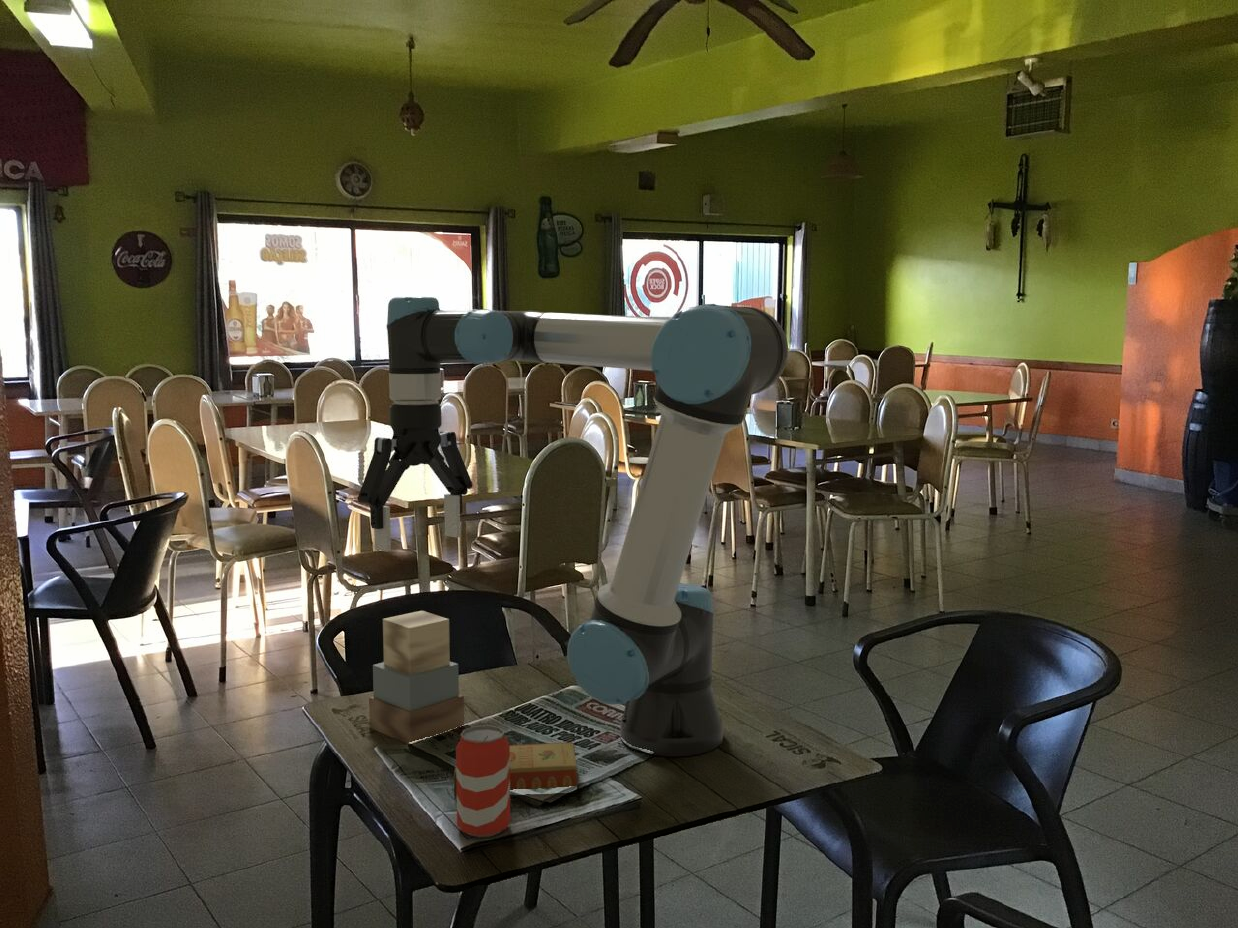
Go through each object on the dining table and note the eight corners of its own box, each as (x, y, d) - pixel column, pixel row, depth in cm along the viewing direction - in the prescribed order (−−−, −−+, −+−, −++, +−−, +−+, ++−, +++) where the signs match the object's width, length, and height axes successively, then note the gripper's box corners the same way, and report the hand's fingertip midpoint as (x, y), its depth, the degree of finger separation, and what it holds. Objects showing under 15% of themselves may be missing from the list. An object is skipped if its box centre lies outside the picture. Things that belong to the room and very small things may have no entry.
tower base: (464, 727, 165) (463, 695, 165) (411, 746, 158) (410, 712, 157) (422, 711, 172) (422, 681, 171) (369, 729, 165) (368, 697, 164)
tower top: (458, 696, 165) (458, 663, 164) (410, 711, 158) (409, 678, 157) (421, 682, 171) (421, 651, 170) (373, 697, 164) (372, 664, 163)
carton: (577, 796, 142) (577, 764, 141) (453, 801, 140) (452, 769, 140) (574, 769, 150) (574, 739, 149) (456, 774, 148) (455, 744, 148)
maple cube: (449, 664, 164) (449, 619, 163) (410, 674, 159) (409, 628, 158) (422, 654, 169) (422, 610, 168) (383, 664, 164) (382, 618, 163)
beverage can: (452, 839, 129) (450, 741, 127) (466, 815, 135) (464, 722, 134) (502, 842, 128) (501, 744, 127) (514, 818, 134) (513, 724, 133)
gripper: (460, 397, 174) (463, 528, 176) (329, 405, 154) (334, 553, 157) (493, 398, 169) (495, 533, 172) (363, 408, 150) (367, 559, 152)
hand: (418, 543), depth 164 cm, fingers open, 13 cm apart
